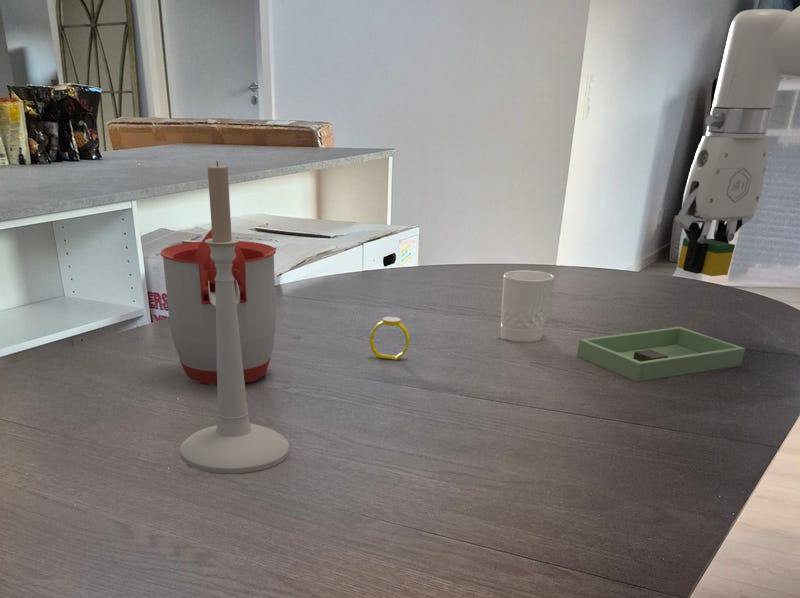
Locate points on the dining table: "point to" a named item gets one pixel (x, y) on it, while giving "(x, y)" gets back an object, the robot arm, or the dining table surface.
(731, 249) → the sponge
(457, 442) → the dining table surface
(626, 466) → the dining table surface
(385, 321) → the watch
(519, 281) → the white cup
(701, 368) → the tray
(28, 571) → the dining table surface
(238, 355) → the candlestick
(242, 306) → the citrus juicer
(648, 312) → the dining table surface
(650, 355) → the crust
